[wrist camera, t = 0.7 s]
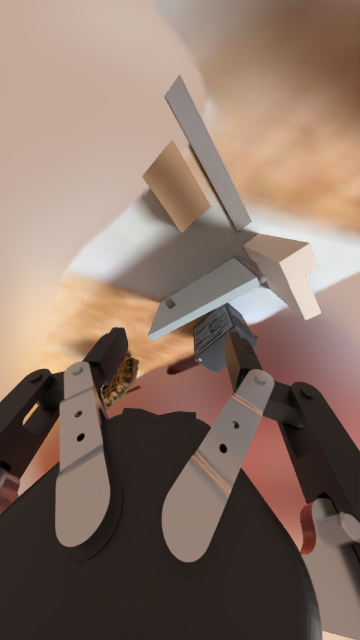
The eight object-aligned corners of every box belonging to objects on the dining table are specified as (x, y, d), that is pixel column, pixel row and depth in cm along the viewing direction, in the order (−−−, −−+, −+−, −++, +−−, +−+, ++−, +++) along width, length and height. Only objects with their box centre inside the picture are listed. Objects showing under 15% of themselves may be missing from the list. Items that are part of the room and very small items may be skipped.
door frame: (181, 75, 19) (166, -161, 7) (282, 282, 32) (336, 319, 20) (163, 101, 20) (124, -68, 8) (267, 290, 33) (310, 330, 21)
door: (156, 297, 34) (141, 329, 24) (235, 247, 28) (261, 262, 18) (163, 306, 35) (152, 341, 25) (241, 259, 29) (268, 281, 19)
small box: (211, 342, 41) (216, 375, 32) (192, 328, 39) (192, 360, 30) (243, 315, 36) (260, 346, 27) (223, 298, 34) (235, 325, 25)
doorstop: (176, 157, 23) (172, 139, 18) (207, 209, 26) (210, 206, 21) (152, 185, 25) (142, 176, 20) (183, 230, 28) (181, 233, 23)
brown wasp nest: (137, 341, 42) (114, 392, 30) (148, 350, 44) (130, 403, 31) (112, 360, 47) (83, 411, 34) (123, 367, 48) (99, 419, 36)
